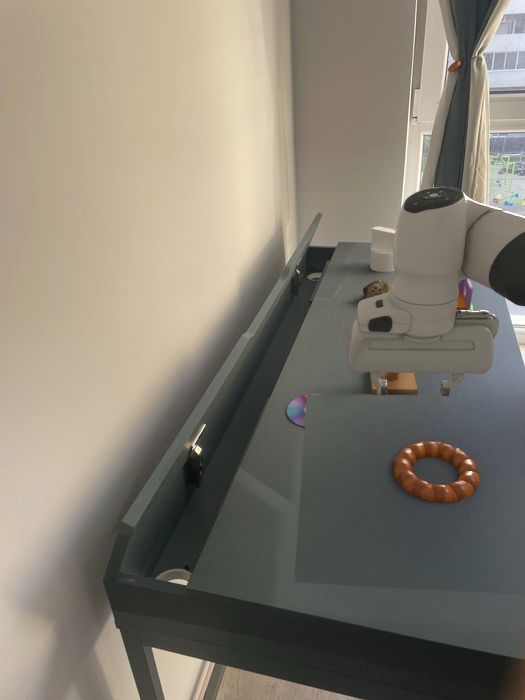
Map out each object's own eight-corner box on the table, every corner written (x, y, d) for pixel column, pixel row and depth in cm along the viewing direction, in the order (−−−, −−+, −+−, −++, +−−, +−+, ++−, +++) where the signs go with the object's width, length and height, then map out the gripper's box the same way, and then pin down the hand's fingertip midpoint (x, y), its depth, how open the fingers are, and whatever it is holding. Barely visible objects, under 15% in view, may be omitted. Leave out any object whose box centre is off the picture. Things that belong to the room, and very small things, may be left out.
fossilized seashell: (394, 301, 139) (396, 291, 148) (382, 279, 138) (385, 271, 147) (368, 313, 142) (372, 303, 151) (356, 292, 141) (361, 284, 150)
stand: (411, 371, 114) (415, 319, 108) (417, 395, 106) (422, 341, 100) (369, 371, 115) (371, 320, 109) (372, 395, 107) (374, 341, 101)
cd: (355, 408, 104) (355, 407, 104) (317, 435, 97) (317, 435, 97) (311, 387, 111) (311, 387, 111) (274, 412, 105) (274, 412, 104)
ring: (467, 452, 91) (469, 438, 89) (487, 510, 80) (489, 496, 78) (389, 450, 93) (390, 437, 91) (397, 507, 81) (398, 493, 80)
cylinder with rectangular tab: (364, 267, 167) (365, 231, 161) (381, 259, 172) (382, 223, 166) (387, 274, 161) (389, 236, 155) (404, 265, 166) (407, 228, 160)
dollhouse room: (467, 294, 145) (470, 271, 141) (474, 314, 135) (478, 289, 131) (422, 294, 147) (423, 271, 144) (425, 313, 137) (427, 289, 133)
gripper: (495, 300, 74) (480, 383, 81) (347, 301, 77) (345, 381, 83) (507, 321, 69) (491, 407, 75) (348, 321, 71) (346, 404, 78)
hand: (413, 393), depth 79 cm, fingers open, 8 cm apart
